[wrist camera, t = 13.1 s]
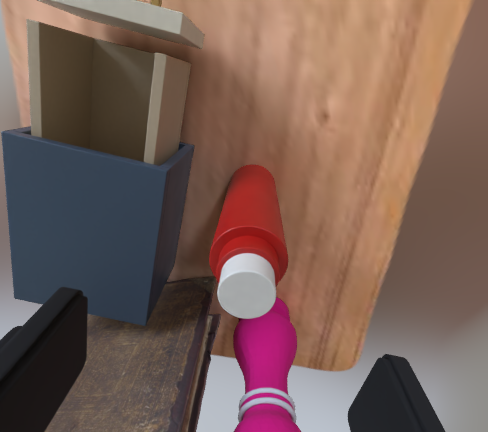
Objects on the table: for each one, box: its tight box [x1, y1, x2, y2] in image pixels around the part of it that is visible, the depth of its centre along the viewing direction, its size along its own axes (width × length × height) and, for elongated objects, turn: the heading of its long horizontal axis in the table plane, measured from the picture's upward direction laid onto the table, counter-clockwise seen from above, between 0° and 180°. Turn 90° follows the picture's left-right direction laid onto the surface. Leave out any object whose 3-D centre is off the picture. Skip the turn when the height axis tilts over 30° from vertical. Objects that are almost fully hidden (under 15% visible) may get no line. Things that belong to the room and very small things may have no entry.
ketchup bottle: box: [209, 165, 288, 319], centre depth 24 cm, size 5×5×18 cm
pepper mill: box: [233, 297, 301, 432], centre depth 30 cm, size 7×7×20 cm
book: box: [45, 277, 221, 432], centre depth 27 cm, size 17×7×25 cm, turn 91°
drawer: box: [27, 0, 205, 166], centre depth 24 cm, size 18×10×8 cm, turn 167°
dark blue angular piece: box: [1, 126, 194, 326], centre depth 29 cm, size 15×12×10 cm
